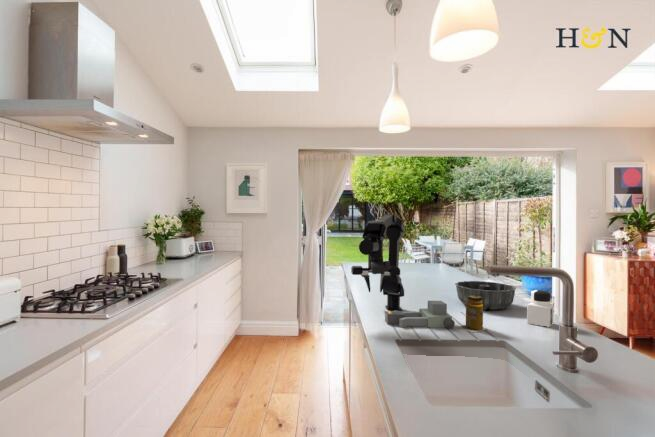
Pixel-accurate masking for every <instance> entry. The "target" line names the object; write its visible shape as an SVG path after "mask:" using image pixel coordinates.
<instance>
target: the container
mask: <svg viewBox="0 0 655 437" xmlns="http://www.w3.org/2000/svg"><path fill="white" fill-rule="evenodd" d="M530 301H531V302H529V303H527V305H526V307H527V309H526V323H527V324H528V323H529V324H528V325H533V324H534V325H533V326H538V325H540V327H543V326H550V325H551V324H552V323H553V324H554V314H555V313H554V311H555V310H554V308H555V306H554V304H553V303H551V293H550V292H549V291H547V290H542V289H541V290H540V289H535V290H531V291H530ZM553 324H552V325H553ZM552 325H551V326H552ZM551 326H550V327H551Z"/></svg>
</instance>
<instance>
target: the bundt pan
mask: <svg viewBox="0 0 655 437" xmlns="http://www.w3.org/2000/svg"><path fill="white" fill-rule="evenodd" d="M454 285H455V287H456V294H457V297H458V300H459V301H460V302H461V303H462V304H464V305H465V306H466V303H467V296H470V295H475V296H480V297H482V304H483V311H484V310H487V309H489V310H491V311H492V310H493V311H494V310H497V311H501V310H503V309H507V308H509V307H510V306H511V305H512V304H513V302H514V299H515V292H516V290H517V287H514V285H511V284H506V283H501V282H493V281H481V280H479V281H478V280H463V281H456V283H454Z"/></svg>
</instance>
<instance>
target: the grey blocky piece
mask: <svg viewBox="0 0 655 437" xmlns="http://www.w3.org/2000/svg"><path fill="white" fill-rule="evenodd" d="M447 309H448V307H447V303H446V302H444V301H442V300H427V308H419V310H418V311H402V312H403V313H404V314H405V317H404V318H400V319H399V324H398V327H399V328H402V329H403V328H405V327H428V328H447V329H453V328H454V327H455V325H456V322H455V320H454V319H452V318H453V317H452V315H450V314H449V313H447V312H448V310H447Z"/></svg>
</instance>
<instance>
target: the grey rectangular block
mask: <svg viewBox="0 0 655 437" xmlns="http://www.w3.org/2000/svg"><path fill="white" fill-rule="evenodd" d="M403 312H404V311H403V310H385V311H384V322H385V323H386V324H387V325H399V319H400V318H404V317H405V314H404V313H403Z"/></svg>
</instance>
